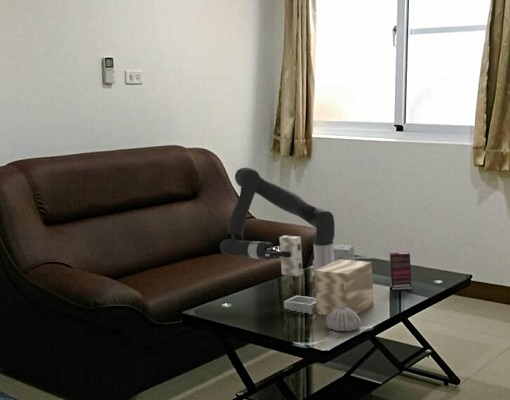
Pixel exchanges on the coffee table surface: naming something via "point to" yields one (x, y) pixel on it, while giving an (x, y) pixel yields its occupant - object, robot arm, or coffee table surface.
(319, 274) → the patterned beige box
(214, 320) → the coffee table surface
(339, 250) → the incense holder
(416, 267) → the coffee table surface
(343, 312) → the sea urchin shell
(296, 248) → the beige upright rectangular block
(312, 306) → the grey rectangular tray
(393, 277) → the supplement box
